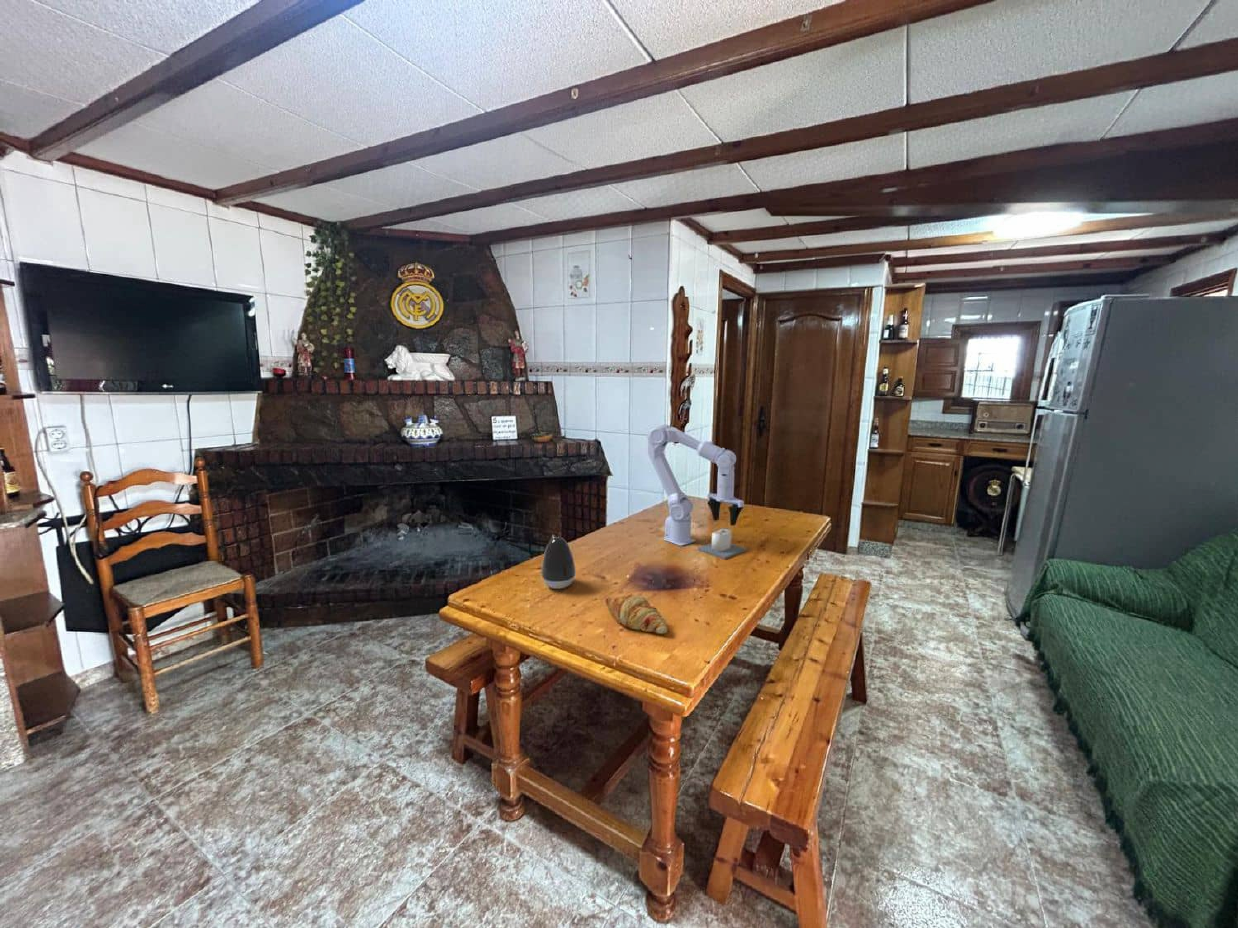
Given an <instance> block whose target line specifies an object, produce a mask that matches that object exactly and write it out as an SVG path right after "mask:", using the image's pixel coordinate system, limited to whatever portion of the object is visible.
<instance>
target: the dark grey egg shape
mask: <svg viewBox="0 0 1238 928" xmlns="http://www.w3.org/2000/svg"><path fill="white" fill-rule="evenodd" d="M545 547H546V548H545V551H544V555H543V557H542V558H543V559H542V563H541V577H542V578H543V581H544V583H545V585H546V586H547V587H549V588H551V589H556V590H561V589H565V588H567V587H569V586H570V585H572V583H573V581H574V580H575V576H576V573H577V571H576V570H577V569H576V564H575V559H574V557H573V553H572V550H571V547H570V546H569V544H568V542H567V541H566V540H565V538H562V537H561V536H556V535H555V534H552V535H551V539H550V540H549V542H548V544H547V545H546V546H545Z"/></svg>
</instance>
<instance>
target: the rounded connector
mask: <svg viewBox="0 0 1238 928" xmlns="http://www.w3.org/2000/svg"><path fill="white" fill-rule="evenodd" d="M711 543H712V551H714V552H721V551H724V550H726V549H729V548H731V544H732V530H731V529H728V528H720V529H718V530H717V531H713V532H712V533H711Z"/></svg>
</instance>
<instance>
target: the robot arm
mask: <svg viewBox="0 0 1238 928" xmlns="http://www.w3.org/2000/svg"><path fill="white" fill-rule="evenodd" d="M647 441H648V445H647V447H648V448H647V455H648V457H649V460H650V461H651V464H652V465H653V467H654V470H655V472H656V474H657V476H658V478H659V481H660V483H661V485H662V487H663V490H664V491H665V494H666V495H667V506H668V508H669V509H668V511H669V516H667V518H666V520H665V522H664V538H663V541H666V542H669V543H672V544H674V545H677V546H679V547H684V546H686V545H688V544H691V543H694V542H696V539H693V538H691V534H692V533H691V531H692V526H691V525H692V516H691V514H690V513H691V512H692V511H693V508H694V506H693V502H692V501H691V500H690V499H689V498H688V497H687V495H686V493H684V492H683V491H682V490H681V488H680V486H679V483H678V481H677V480H676V477H675V475H674V472H673V471H672V469H671V466H670V463H669V462H668V459H667V458H666V455H665V453H664V451H665V449H666V447H667V444H668V443H675V442H677V443H680V444H682V445H683V446H685V447H689V448H690V449H693V450H695V451H696V452H697V455H698V456H699V457H701V458H703V459H705V460H707V461H709V462H711V463H713V464H716V466H717V484H716V486H717V487H716V490H717V491H716V493H712V492H711V493H708V494H707V505H708V506H709V509H710V511H711V512H710V513H711V514H712V519H713V521H718V520H719V518H720V509H721V504H722V503H724V504H728V505H731V506H728V507H727V508H728V512H729V522H730V523H729V525H730V526H736V524H737V521H738V517H739V515H740V513H741V511H742V510H743V509H744V505H745V502H744V500H741V499H739V498H737V497H735V496H734V493H735V490H734V489H735V464H736V462H737V456H736V454H735V453H734V452H733V451H732V450H730V449H726V448H725V447H722V448H721V447H720V446H718V445H715V444H714V441H711V440H709V441H707V440H706V441H700V440H698V439H696V438H694V437H692V436H691V435H689V434H687V433H685V432H684V431H681V430H679V429H678V428H676V427H673V426H671V425H669V424H662V425H660V426H656V427H653V428H652V429H651V430H650V431H649V434H648V436H647Z"/></svg>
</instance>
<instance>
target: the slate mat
mask: <svg viewBox="0 0 1238 928" xmlns="http://www.w3.org/2000/svg"><path fill="white" fill-rule="evenodd" d="M697 551H699V552H702V553H706V554H709V555H711V556H714V557H716V558H719V559H721V560H727V559H730V558H733V557H735V556H737V555H740V554H741V553H743V552H746V551H747V548H746V547H743V546H739V545H737V544H736V545H735V544H734V543H733V544H732V543H731V548H729V549H726V550H724V551H721V552H714V551H712V542H709V543H707V544H704V545H702V546H698V547H697Z"/></svg>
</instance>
